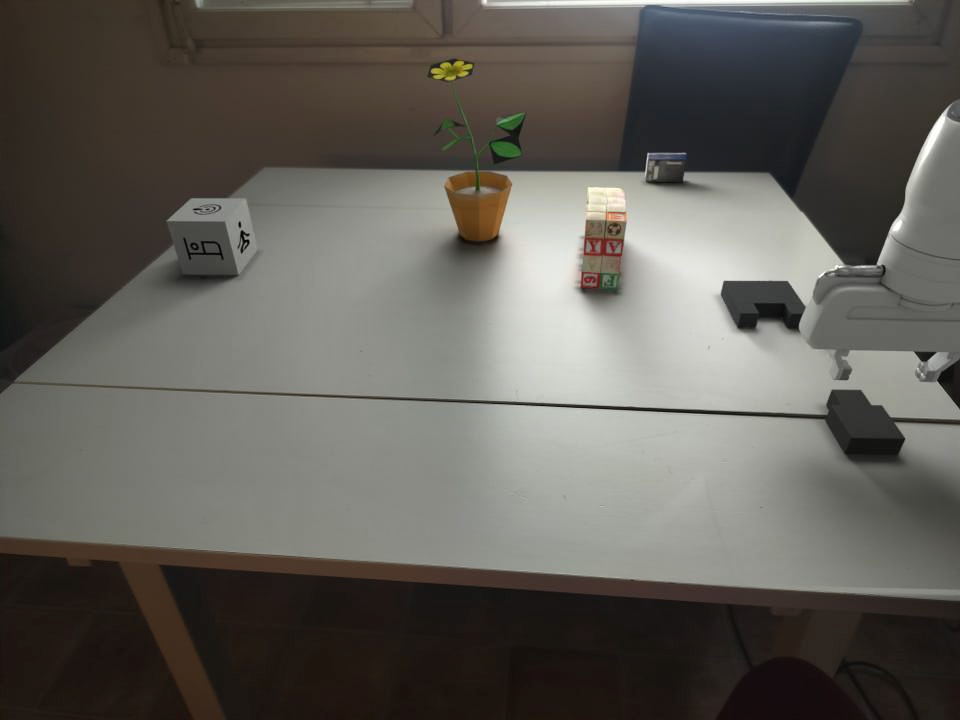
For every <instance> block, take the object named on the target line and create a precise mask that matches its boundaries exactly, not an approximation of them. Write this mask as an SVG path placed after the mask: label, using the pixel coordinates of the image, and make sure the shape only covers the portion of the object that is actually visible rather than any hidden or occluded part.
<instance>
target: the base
mask: <svg viewBox="0 0 960 720" xmlns="http://www.w3.org/2000/svg"><path fill="white" fill-rule="evenodd" d="M721 286H722V287H721V290H720V296H721V298H722V300H723V302H724V304H725V305H726V308H727V310H728V312H729V314H730V316H731V318H732V319H733V321H734V324H735V325H736V328H742V329H743V328H744V329H745V328H748V329H750V328H752V329H753V328H757V324H758V320H759V318H780V319H781V320H782V321H783V323H784V325H785V326H786V328H787V329H799V323H800V320H801V318H802V315H803V313H804V311H805V309H806V307H807V306H806V305H805V303H804V302H803V301H802V299H801V298H800V296H799V295H798V294H797V292H796V291H795V289H794V288H793V286H792V284H791V283H790V282H789V281H788V280H723V282H722V285H721Z"/></svg>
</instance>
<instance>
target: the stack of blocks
mask: <svg viewBox="0 0 960 720" xmlns="http://www.w3.org/2000/svg"><path fill="white" fill-rule="evenodd" d="M586 193H587V194H586V207H585V208H586V209H585V222H584V223H585V224H584V225H585V226H584V237H583V249H582V250H583V251H582V252H583V253H582V256H583V257H582V264H581V275H580V288H581V289H593V290H599V289H600V290H613V291H618V290H619V284H620V278H621V267H622V259H623V255H624V246H625V236H626V230H627V223H628V220H627V219H628V218H627V201H626V194H625V193H626V192H625V190H622V188H620V187H587V192H586Z"/></svg>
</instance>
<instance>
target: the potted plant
mask: <svg viewBox="0 0 960 720" xmlns="http://www.w3.org/2000/svg"><path fill="white" fill-rule="evenodd" d="M474 66H475V62H472V61H468V60H462V59H458V58H451V59H448V60H444V61H440V62H437V63H434V64H433V63H432V64H430V66H429V70H428V73H427V76H426V78H429V79H433V80H436V81H441V82H445V83H449V82H451V85H452V89H453V92H454V96H455V100H456V103H457V106H458V108H459V111H460V114H461V117H462V119H463V122H464V124H461V123H458V122H456V121H454V120H452V119H449V118H445V119H444V120H443V121H442V123H441V124H440V125H439V127H438V128H437V130H436V131H435V132H434V133H433V135H432V137H434V136H436V135H438V134H439V133H441V132H442V131H444V130H446V129H447V130H449V132H450V134H451V135H452V136H453V137H454V139H452V140H450V141H449V142H447V143H445V144H444V145H442V146H441V147H439V148H438V149H436V150H435V151H433V152H434V153H438V152H444V151H445V150H447V149H449V148H450V147H452V146H454V145H455V144H457V143H458V142H461V141H463V140H469V141H470V144H471V148H472V153H473V157H474V171H464V172H461V173H458V174H454V175H451V176H448V178H447V179H446V181H445V183H444V185H443V188H444V190H445V193H446V196H447V199H448V202H449V205H450V208H451V212H452V215H453V217H454V220H455V223H456V226H457V230H458V232H459V233H458V234H459V235H460V236H461V237H462V238H464V240H466V241H473V242H484V241H489V240H490V241H491V240H493V239H494V238H496V237H497V236H498V235H499V233H500V230H501V225H502V222H503V218H504V215H505V213H506V212H505V211H506V208H507V204H508V201H509V197H510V194H511V190H512V187H513V182H512V181H511V180H510V178H509V177H508V175H506V174H501V173H497V172H494V171H490V170H483V171H481V170H480V171H479V163H478V158H479V157H480V156H481V155H482V154H483V152H484V151H485V150H486V149H487V148H488V146H489V149H490V154H491V158H492V162H493V165H498V164H501V163H503V162H507V161H511V160H513V159H516V158H519V157H523V151H522V146H521V143H520V139H519V138H520V134H521V132H522V128H523V125H524V123H525V122H524V121H525V119H526V116H527V111H526V112H519V113H511V114H503V115H497V116H496V117H497V118H496V122H495V127H494V130H493V132H492V134H491V137H490V139H489V141H488V142H487V143H486V144H485V145H484V147H482V148H481V150H480V151H479V152H478V153H477V151H476V148H475V144H474V139H473V136H472V132H471V129H470V126H469V125H468V121H467V119H466V116H465V114H464V112H463V109H462V106H461V103H460V101H459V98H458V95H457V91H456V87H455V83H454V81H457V80H459V79H463V78H468V77H471V76H472V75H473V71H474V68H475V67H474ZM462 127H465V128H466V130H467V133H468V136H458V135H457V134H456V133H455V131H453V130H452V129H451V128H462ZM497 128H500V129H501V130H502V131H504V132H506V134H508V135H506V136H504V137H501V138H498V139H495V140H493V138H494V136H495V133H496V130H497Z"/></svg>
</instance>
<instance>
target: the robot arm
mask: <svg viewBox="0 0 960 720" xmlns="http://www.w3.org/2000/svg"><path fill="white" fill-rule="evenodd" d="M904 194H905V195H904V196H905V197H904V204H903V206H902V209H901V212H900V213H899V214H898V216H897V217H896V218H895V220H894V221H893V222H892V224H891V226H890V229H889V230H888V233H887V236H886V238H885V241H884V244H883V247H882V249H881V252H880V254H879V257H878V260H877V262H876V264H874V265H873V264H864V265H851V264H838V265H836V266H835V267H834V268H831V269H828V270H825V271H824V272H822V273H821V274H819V275H818V277H817V278H816V280H815V283H814V286H813V289H812V295H811V296H810V299H809V300H808V302H807V305H806V306H805V307H806V309H805V311H804V313H803V315H802V318H801V320H800V323H799V328H798V329H799V332H800V335H801V336H802V338H803V339H804V340H805V342H806V343H807V344H808V345H809V347H810V348H811V349H813V350H823V351H824V350H825V351H828V352H829V355H830V359H831V360H832V361H831V363H830V366H829V369H828V374H829V376H830V378H831V379H832V380H833V381H848V380H849V379H850V375H852V371H853V368H852V366H851V365H850V364H849V362H848V360H847V359H843V357H845V358H846V357H848V356H849V353H850V351H869V352H871V351H874V352H912V353H913V352H917V353H919V352H920V353H935V354H933V356H931V357H930V358H929V359H928V360H927V361H919V363H918V365H917V368H916V369H915V371H914V372H915V373H914V375H915V378H916V379H918V381H919V382H920V383H937V382H938V380H939V377H940V376H941V373H942V372H944V371H945V370H947V369H948V368H950V367H951V366H952V365H954V364H956V362H958V361H960V98H959V99H956V100H955V101H953V102H952V103H951V104H950V105H948V107H946V108H945V109H944V111H943V112H942V113H941V115H940V116H939V117H938V119H937V120H936V121H935V123H934V124H933V126H932V128H931V129H930V131H929V133H928V135H927V137H926V139H925V140H924V143H923V145H922V147H921V149H920V151H919V153H918V156H917V158H916V160H915V163H914V166H913V168H912V170H911V173H910V176H909V178H908V181H907V183H906V186H905V193H904Z"/></svg>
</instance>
